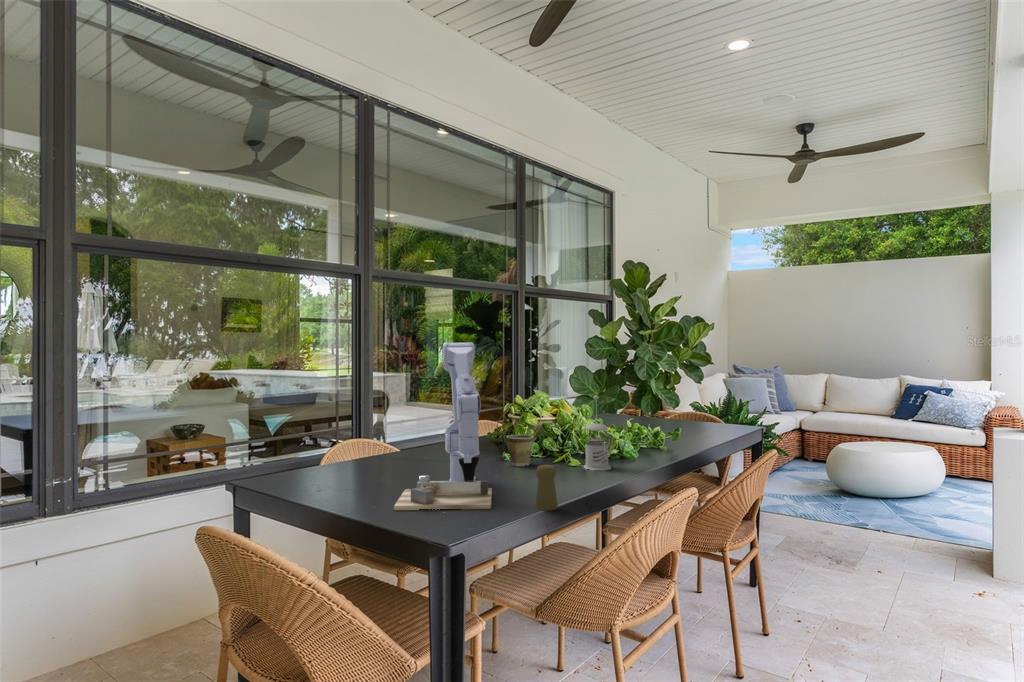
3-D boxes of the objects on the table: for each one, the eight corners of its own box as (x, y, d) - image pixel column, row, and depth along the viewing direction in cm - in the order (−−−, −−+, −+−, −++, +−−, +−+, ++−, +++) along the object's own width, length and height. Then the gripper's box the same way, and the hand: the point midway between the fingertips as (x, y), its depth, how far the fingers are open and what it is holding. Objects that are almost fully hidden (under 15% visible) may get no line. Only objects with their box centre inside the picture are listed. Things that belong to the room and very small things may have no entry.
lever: (416, 495, 166) (416, 477, 166) (418, 492, 169) (418, 475, 169) (487, 494, 167) (487, 476, 167) (488, 491, 169) (487, 474, 169)
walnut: (424, 498, 164) (424, 484, 164) (437, 497, 164) (437, 484, 164) (422, 501, 161) (422, 487, 161) (436, 501, 161) (435, 487, 161)
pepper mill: (544, 503, 163) (543, 462, 163) (562, 506, 159) (562, 464, 159) (530, 508, 158) (529, 465, 158) (549, 511, 154) (548, 468, 154)
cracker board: (405, 493, 175) (405, 489, 175) (491, 492, 175) (491, 488, 175) (394, 510, 157) (394, 505, 157) (490, 509, 157) (490, 504, 157)
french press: (576, 466, 211) (576, 395, 211) (602, 463, 217) (601, 393, 217) (595, 471, 202) (594, 396, 203) (621, 467, 209) (620, 395, 209)
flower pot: (534, 467, 211) (534, 438, 211) (505, 467, 211) (505, 438, 211) (533, 460, 224) (533, 433, 224) (506, 460, 224) (506, 433, 224)
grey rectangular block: (417, 499, 163) (417, 487, 163) (433, 502, 159) (432, 490, 159) (410, 501, 161) (410, 489, 161) (426, 504, 157) (426, 492, 157)
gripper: (456, 432, 181) (456, 478, 181) (452, 440, 166) (453, 489, 166) (480, 432, 181) (480, 478, 181) (478, 439, 166) (478, 489, 166)
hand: (469, 483), depth 173 cm, fingers closed
